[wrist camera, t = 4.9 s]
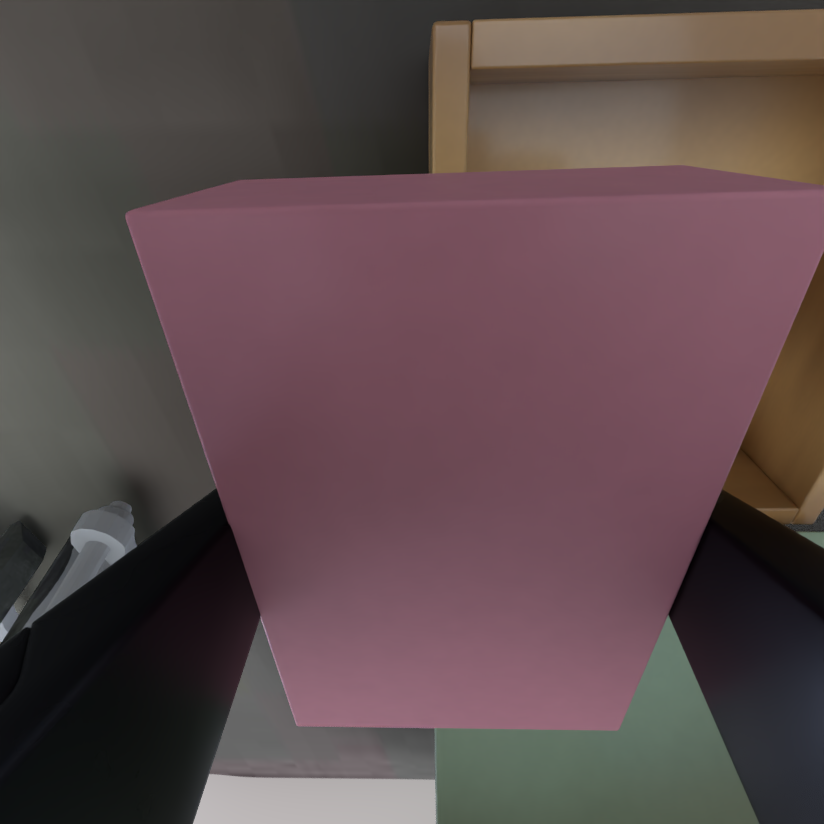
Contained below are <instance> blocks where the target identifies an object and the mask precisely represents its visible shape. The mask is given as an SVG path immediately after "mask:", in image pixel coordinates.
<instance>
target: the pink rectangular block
mask: <svg viewBox="0 0 824 824" xmlns="http://www.w3.org/2000/svg"><path fill="white" fill-rule="evenodd" d="M126 221H127V224H128V227H129V230H130V233H131V236H132V239H133V242H134V245H135V248H136V251H137V254H138V257H139V260H140V263H141V266H142V269H143V272H144V275H145V278H146V281H147V284H148V287H149V290H150V293H151V295H152V298H153V301H154V304H155V307H156V310H157V313H158V316H159V319H160V322H161V325H162V328H163V331H164V334H165V337H166V340H167V343H168V346H169V349H170V352H171V355H172V358H173V361H174V364H175V367H176V369H177V372H178V375H179V378H180V381H181V384H182V387H183V390H184V393H185V396H186V399H187V402H188V405H189V408H190V411H191V414H192V417H193V420H194V423H195V426H196V429H197V432H198V435H199V438H200V441H201V444H202V446H203V449H204V452H205V455H206V458H207V461H208V464H209V467H210V470H211V473H212V476H213V479H214V482H215V485H216V488H217V491H218V494H219V497H220V500H221V503H222V506H223V509H224V512H225V515H226V518H227V520H228V523H229V525H230V526H231V528H232V531H233V534H234V537H235V540H236V543H237V546H238V549H239V552H240V555H241V558H242V561H243V564H244V567H245V570H246V573H247V576H248V579H249V582H250V585H251V588H252V591H253V594H254V597H255V600H256V603H257V606H258V609H259V612H260V615H261V617H260V618H261V621H262V624H263V627H264V630H265V633H266V636H267V639H268V642H269V645H270V648H271V651H272V654H273V657H274V660H275V663H276V666H277V669H278V672H279V674H280V677H281V680H282V683H283V686H284V689H285V692H286V695H287V698H288V701H289V704H290V707H291V710H292V713H293V716H294V719H295V722H296V725H297V726H319V727H391V728H463V729H535V730H608V731H617V730H619V729H620V726H621V724H622V722H623V719H624V717H625V715H626V712H627V710H628V708H629V705H630V703H631V701H632V698H633V696H634V694H635V691H636V689H637V687H638V684H639V682H640V680H641V677H642V675H643V673H644V670H645V668H646V666H647V663H648V661H649V659H650V656H651V654H652V652H653V649H654V647H655V645H656V642H657V640H658V638H659V635H660V633H661V631H662V628H663V626H664V624H665V621H666V619H667V617H668V614H669V612H670V610H671V607H672V605H673V603H674V600H675V598H676V596H677V593H678V591H679V588H680V586H681V584H682V581H683V579H684V577H685V574H686V572H687V570H688V567H689V565H690V563H691V560H692V558H693V556H694V553H695V551H696V549H697V546H698V544H699V542H700V539H701V537H702V535H703V532H704V530H705V528H706V525H707V523H708V521H709V518H710V516H711V514H712V511H713V509H714V507H715V504H716V502H717V500H718V497H719V495H720V493H721V490H722V488H723V486H724V483H725V481H726V479H727V476H728V474H729V472H730V469H731V467H732V465H733V462H734V460H735V458H736V455H737V453H738V451H739V448H740V446H741V444H742V441H743V439H744V437H745V434H746V432H747V430H748V427H749V425H750V423H751V420H752V418H753V416H754V413H755V411H756V409H757V406H758V404H759V402H760V399H761V397H762V395H763V392H764V390H765V387H766V385H767V383H768V380H769V378H770V376H771V373H772V371H773V369H774V366H775V364H776V362H777V359H778V357H779V355H780V352H781V350H782V348H783V345H784V343H785V341H786V338H787V336H788V334H789V331H790V329H791V327H792V324H793V322H794V320H795V317H796V315H797V313H798V310H799V308H800V306H801V303H802V301H803V299H804V296H805V294H806V292H807V289H808V287H809V285H810V282H811V280H812V278H813V275H814V273H815V271H816V268H817V266H818V264H819V261H820V259H821V257H822V254H823V252H824V185H818V184H811V183H804V182H797V181H790V180H783V179H776V178H769V177H762V176H755V175H748V174H741V173H734V172H728V171H721V170H714V169H707V168H700V167H693V166H686V165H669V166H639V167H610V168H580V169H550V170H521V171H491V172H461V173H432V174H402V175H372V176H343V177H313V178H283V179H254V180H237V181H234V182H230V183H227V184H223V185H219V186H216V187H212V188H209V189H205V190H201V191H198V192H194V193H191V194H187V195H183V196H180V197H176V198H173V199H169V200H166V201H162V202H158V203H155V204H151V205H148V206H144V207H140V208H137V209H133V210H130V211H129V212H127V213H126Z"/></svg>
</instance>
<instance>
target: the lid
mask: <svg viewBox="0 0 824 824" xmlns="http://www.w3.org/2000/svg"><path fill="white" fill-rule="evenodd" d="M797 533H799V534H800V535H802V536H804V537H806V538H807V539H809V540H811V541H812V542H814V543H816V544H818V545H819V546H821V547H823V548H824V532H797ZM435 789H436V824H759V822H758V820H757V817H756V815H755V813H754V811H753V808H752V806H751V804H750V801H749V799H748V797H747V795H746V792H745V790H744V788H743V785H742V783H741V781H740V778H739V776H738V774H737V772H736V769H735V767H734V765H733V762H732V760H731V758H730V755H729V753H728V751H727V749H726V746H725V744H724V742H723V739H722V737H721V735H720V733H719V730H718V728H717V726H716V723H715V721H714V719H713V716H712V714H711V712H710V710H709V707H708V705H707V703H706V700H705V698H704V696H703V694H702V691H701V689H700V687H699V684H698V682H697V680H696V677H695V675H694V673H693V671H692V668H691V666H690V664H689V661H688V659H687V657H686V654H685V652H684V650H683V648H682V645H681V643H680V641H679V638H678V636H677V634H676V632H675V629H674V627H673V625H672V622H671V620H670V618H669V615H668V617H667V619H666V621H665V624H664V626H663V628H662V631H661V633H660V635H659V638H658V640H657V642H656V645H655V647H654V649H653V652H652V654H651V656H650V659H649V661H648V663H647V666H646V668H645V670H644V673H643V675H642V677H641V680H640V682H639V684H638V687H637V689H636V691H635V694H634V696H633V698H632V701H631V703H630V705H629V708H628V710H627V712H626V715H625V717H624V719H623V722H622V724H621V726H620V729H619V730H617V731H608V730H535V729H463V728H435Z"/></svg>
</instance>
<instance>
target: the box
mask: <svg viewBox="0 0 824 824" xmlns="http://www.w3.org/2000/svg"><path fill="white" fill-rule="evenodd" d="M669 165H686V166H693V167H700V168H707V169H714V170H721V171H728V172H734V173H741V174H748V175H755V176H762V177H769V178H776V179H783V180H790V181H797V182H804V183H811V184H818V185H824V9H798V10H766V11H734V12H701V13H669V14H637V15H605V16H573V17H541V18H509V19H477V20H473V22H472V24H471V22H470V21H468V20H459V21H437V22H435V23H433V27H432V33H431V42H430V51H429V174H432V173H461V172H491V171H521V170H550V169H580V168H610V167H639V166H669ZM722 489H723V490H724V491H726V492H728V493H730V494H731V495H733V496H735V497H737V498H738V499H740V500H742V501H743V502H745V503H747V504H749V505H750V506H752V507H754V508H756V509H757V510H759V511H761V512H762V513H764V514H766V515H768V516H769V517H771V518H773V519H775V520H776V521H778V522H780V523H781V524H791V523H792V524H813V523H814V522H815V521H816V519H817V517H818V516H819V514H820V513H821V511H822V510H823V508H824V252H823V254H822V257H821V259H820V261H819V264H818V266H817V268H816V271H815V273H814V275H813V278H812V280H811V282H810V285H809V287H808V289H807V292H806V294H805V296H804V299H803V301H802V303H801V306H800V308H799V310H798V313H797V315H796V317H795V320H794V322H793V324H792V327H791V329H790V331H789V334H788V336H787V338H786V341H785V343H784V345H783V348H782V350H781V352H780V355H779V357H778V359H777V362H776V364H775V366H774V369H773V371H772V373H771V376H770V378H769V380H768V383H767V385H766V387H765V390H764V392H763V395H762V397H761V399H760V402H759V404H758V406H757V409H756V411H755V413H754V416H753V418H752V420H751V423H750V425H749V427H748V430H747V432H746V434H745V437H744V439H743V441H742V444H741V446H740V448H739V451H738V453H737V455H736V458H735V460H734V462H733V465H732V467H731V469H730V472H729V474H728V476H727V479H726V481H725V483H724V486H723V488H722Z"/></svg>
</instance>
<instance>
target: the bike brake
mask: <svg viewBox="0 0 824 824" xmlns="http://www.w3.org/2000/svg"><path fill="white" fill-rule="evenodd" d="M131 511H132V508H131V506H130V505H129V504H127V503H125V502H122V501H113V502H112V503H111V504H110V505H109V506H104V507H101V508H99V509H98V510H91V511H87V512H84V513H83V514H82V516H81V518H80V519H79V521H78V522H77V524H76V525H75V527H74V528H73V530H72V532H71V536H70V537H69V539H68V540H67V542H66V544H65V545H64V547H63V548H62V550H61V551H60V553H59V554H58V556H57V557H56V559H55V561H54V562H53V564H52V565H51V567H50V568H49V570H48V571H47V573H46V574H45V576H44V577H43V579H42V581H41V582H40V584H39V585H38V587H37V588H36V590H35V591H34V593H33V594H32V596H31V598H30V599H29V601H28V602H27V604H26V605H25V607H24V608H23V610H22V611H21V613H20V615H19V614H18V613H17V612H16V610H15V607H14V603H15V601H16V600H17V598H18V597H19V595H20V594H21V592H22V591H23V589H24V588H25V586H26V585H27V583H28V582H29V580H30V579H31V577H32V576H33V574H34V573H35V571H36V570H37V568H38V567H39V565H40V564H41V562H42V561H43V559H44V555H45V552H46V547H45V546H44V545H43V544H42V543H41V542H40V541H39V540H38V539H37V538H36V537H35V536H34V535H33V534H32V533H31V532H30V531H29V530H28V529H27V528H26V527H25V526H24V525H23V524H22V523H21V522H20V521H18V522H16V523H14V524H12V525H10V526H9V528H8V529H7V530H6V532H5V533H4V534H3V535H2V537H1V538H0V641H1V644H0V645H2V644H3V643H5V642H6V641H7V640H9V639H10V638H11V637H13V636H14V635H16V634H17V633H18V632H20V631H21V630H22V629H24V628H26V627H31V625H32V623H33V622H34V621H35V620H36V619H38V618H39V617H40V616H42V615H43V614H45V613H46V612H47V611H49V610H50V609H51V608H53V607H54V606H56V605H57V604H58V603H60V602H61V601H62V600H64V599H65V598H67V597H68V596H69V595H71V594H72V593H73V592H75V591H76V590H78V589H79V588H80V587H82V586H83V585H84V584H86V583H87V582H89V581H90V580H91V579H93V578H94V577H95V576H97V575H98V574H100V573H101V572H102V571H104V570H105V569H106V568H108V567H109V566H111V565H112V564H113V563H115V562H116V561H117V560H119V559H120V558H122V557H123V556H124V555H126V554H127V553H128V552H130V551H131V550H132V549H134V548H135V547H137V544H136V542H135V538H134V534H135V529H134V527H133V526H132V525H133V523H134V518H133V516H132V514H131Z"/></svg>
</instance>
